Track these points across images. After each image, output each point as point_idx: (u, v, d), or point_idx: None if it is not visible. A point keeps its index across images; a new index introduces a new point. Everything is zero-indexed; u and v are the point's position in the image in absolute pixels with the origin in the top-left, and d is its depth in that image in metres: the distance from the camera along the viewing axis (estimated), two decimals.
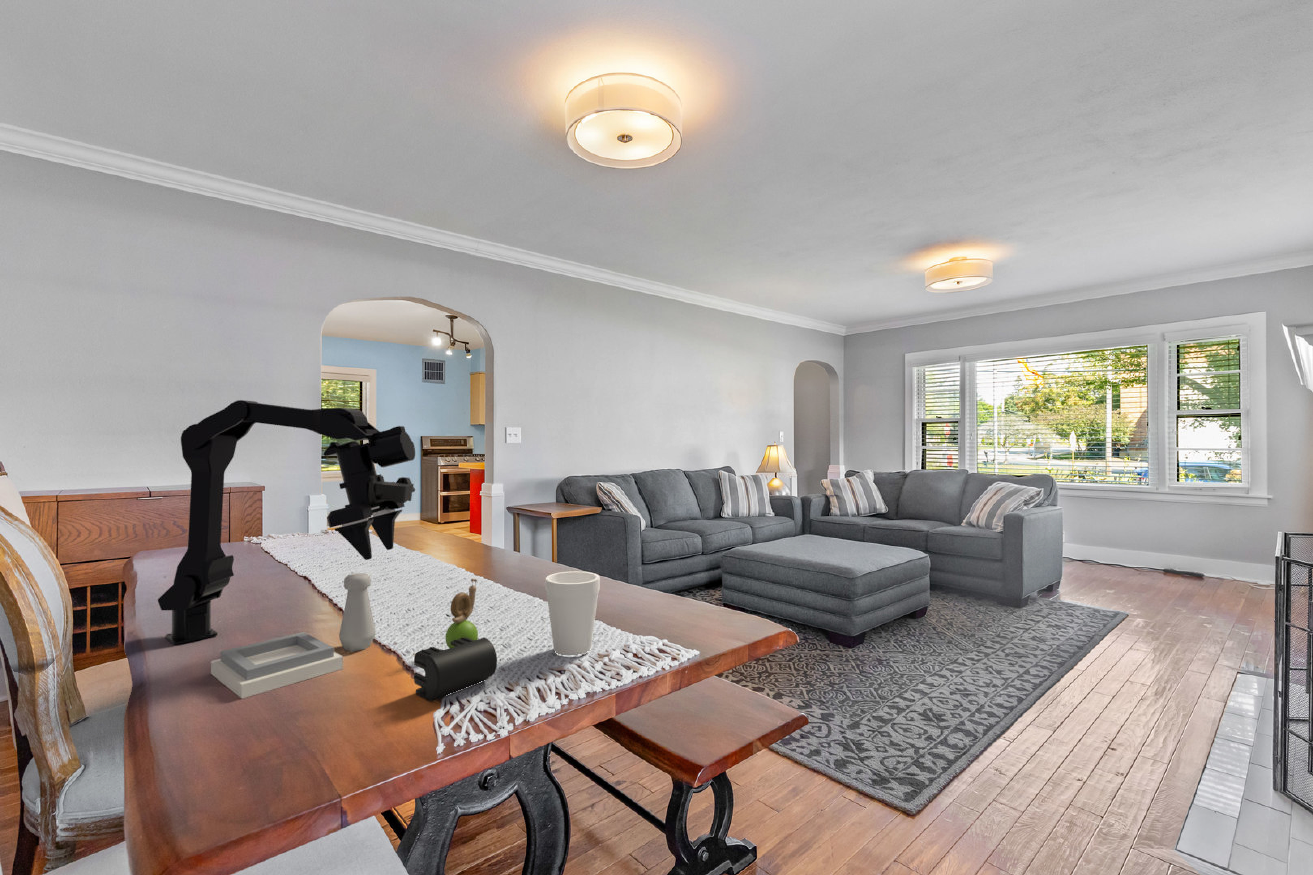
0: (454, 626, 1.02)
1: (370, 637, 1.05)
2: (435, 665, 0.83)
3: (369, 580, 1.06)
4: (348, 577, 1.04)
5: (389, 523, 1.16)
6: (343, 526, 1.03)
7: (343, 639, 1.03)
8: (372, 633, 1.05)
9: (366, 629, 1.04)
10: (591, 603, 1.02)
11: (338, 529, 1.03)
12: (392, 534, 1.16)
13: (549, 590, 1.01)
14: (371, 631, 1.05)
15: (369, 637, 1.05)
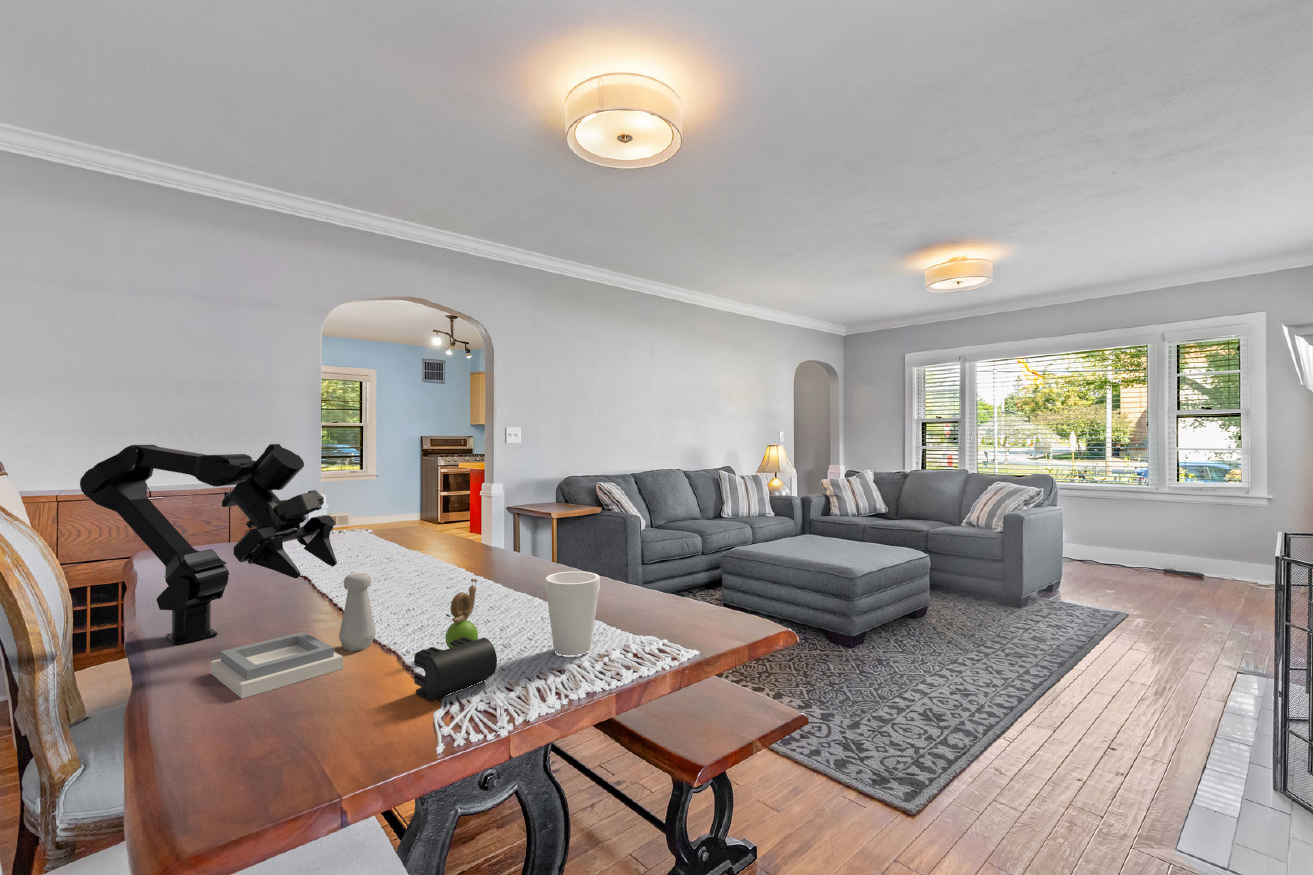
0: (454, 626, 1.02)
1: (370, 637, 1.05)
2: (435, 665, 0.83)
3: (369, 580, 1.06)
4: (348, 577, 1.04)
5: (323, 542, 1.12)
6: (253, 555, 0.99)
7: (343, 639, 1.03)
8: (372, 633, 1.05)
9: (366, 629, 1.04)
10: (591, 603, 1.02)
11: (250, 560, 0.99)
12: (330, 550, 1.12)
13: (549, 590, 1.01)
14: (371, 631, 1.05)
15: (369, 637, 1.05)
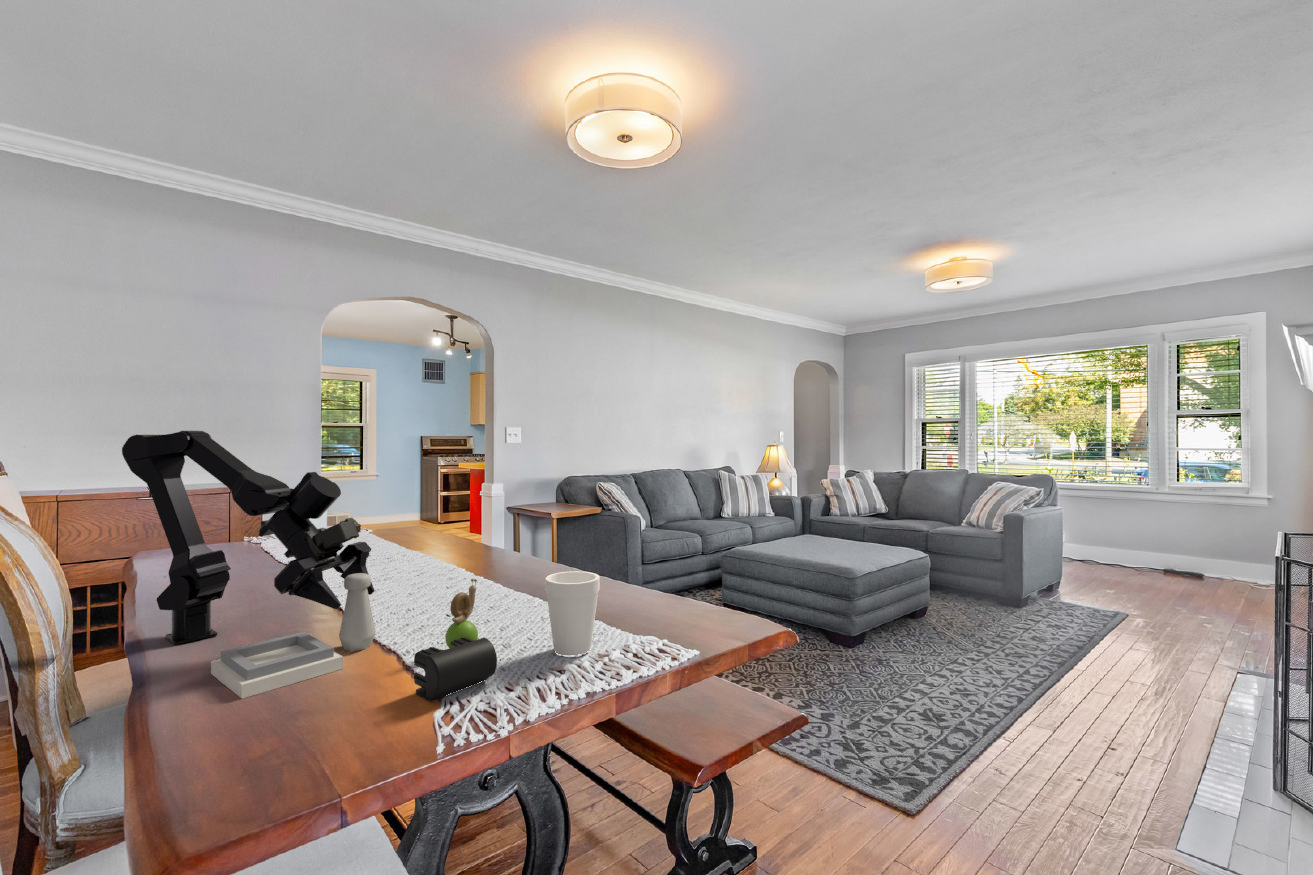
0: (454, 626, 1.02)
1: (370, 637, 1.05)
2: (435, 665, 0.83)
3: (369, 580, 1.06)
4: (348, 577, 1.04)
5: (359, 569, 1.11)
6: (293, 587, 0.98)
7: (343, 639, 1.03)
8: (372, 633, 1.05)
9: (366, 629, 1.04)
10: (591, 602, 1.02)
11: (291, 592, 0.98)
12: None
13: (549, 590, 1.01)
14: (371, 631, 1.05)
15: (369, 637, 1.05)
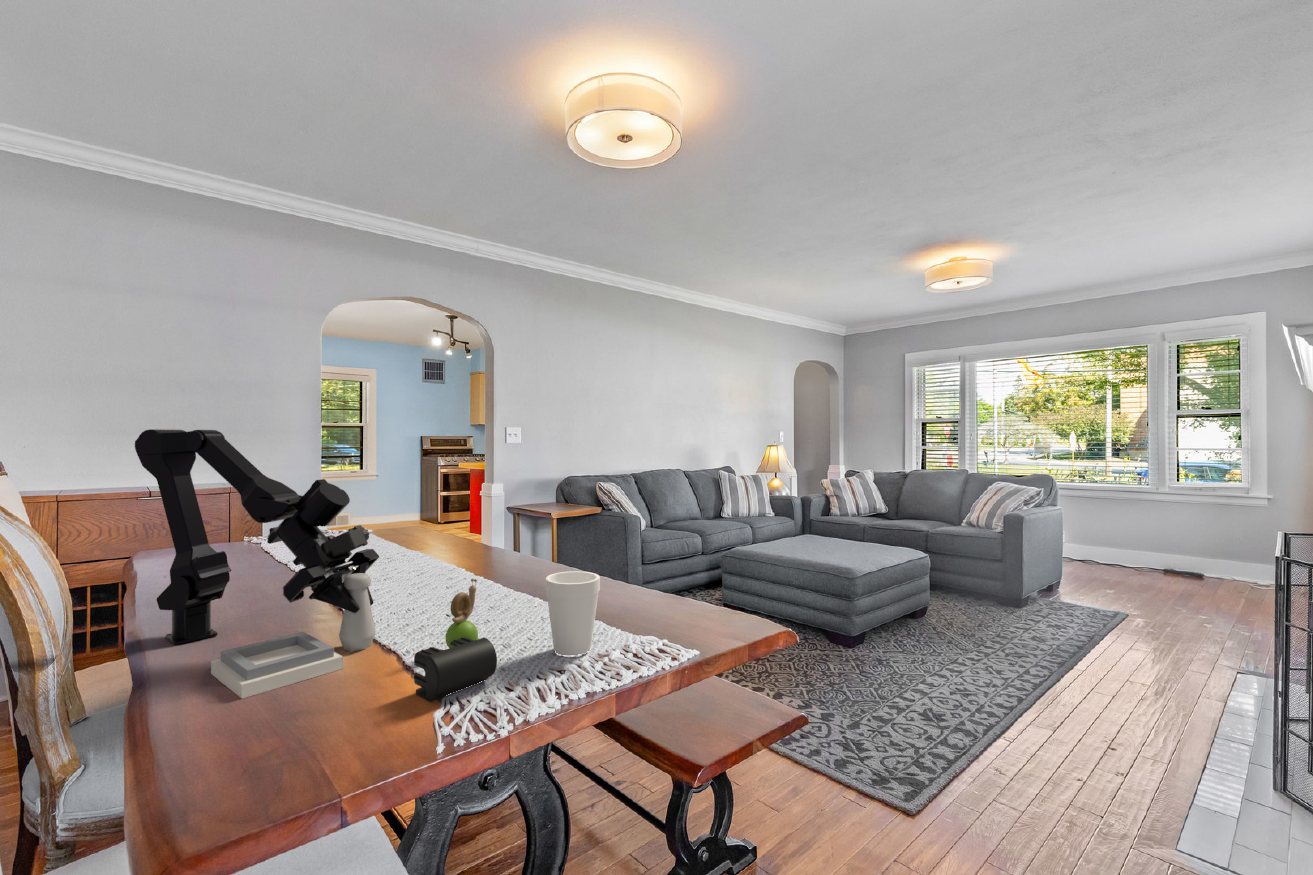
0: (454, 626, 1.02)
1: (370, 637, 1.05)
2: (435, 665, 0.83)
3: (369, 580, 1.06)
4: (348, 577, 1.04)
5: None
6: (314, 591, 1.01)
7: (343, 639, 1.03)
8: (372, 633, 1.05)
9: (366, 629, 1.04)
10: (591, 603, 1.02)
11: (311, 596, 1.01)
12: None
13: (549, 590, 1.01)
14: (371, 631, 1.05)
15: (369, 637, 1.05)
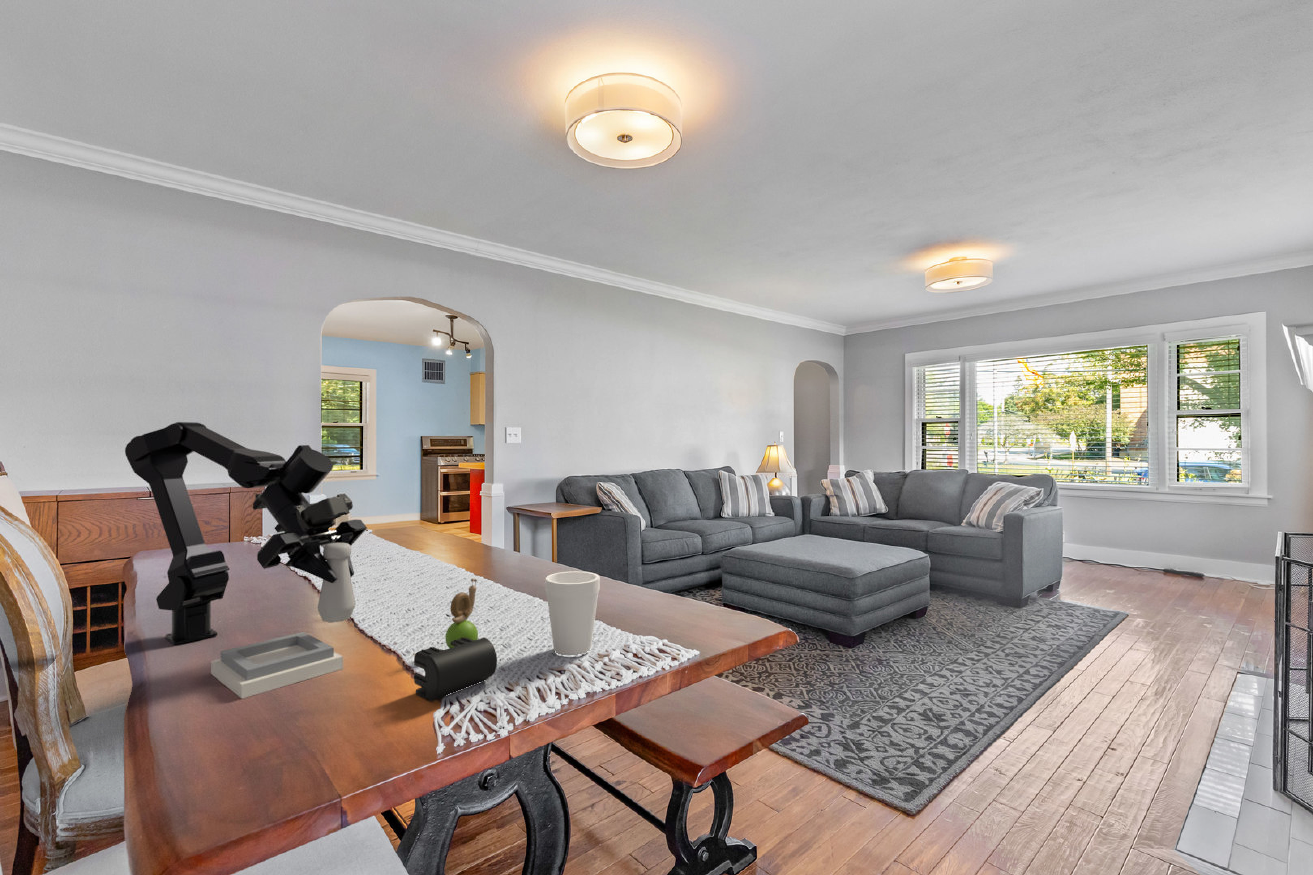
0: (454, 626, 1.02)
1: (348, 609, 1.01)
2: (435, 665, 0.83)
3: (349, 550, 1.02)
4: (327, 546, 1.01)
5: None
6: (290, 558, 0.98)
7: (320, 609, 1.00)
8: (351, 605, 1.01)
9: (344, 600, 1.00)
10: (591, 603, 1.02)
11: (287, 563, 0.98)
12: None
13: (549, 590, 1.01)
14: (349, 603, 1.01)
15: (347, 609, 1.01)
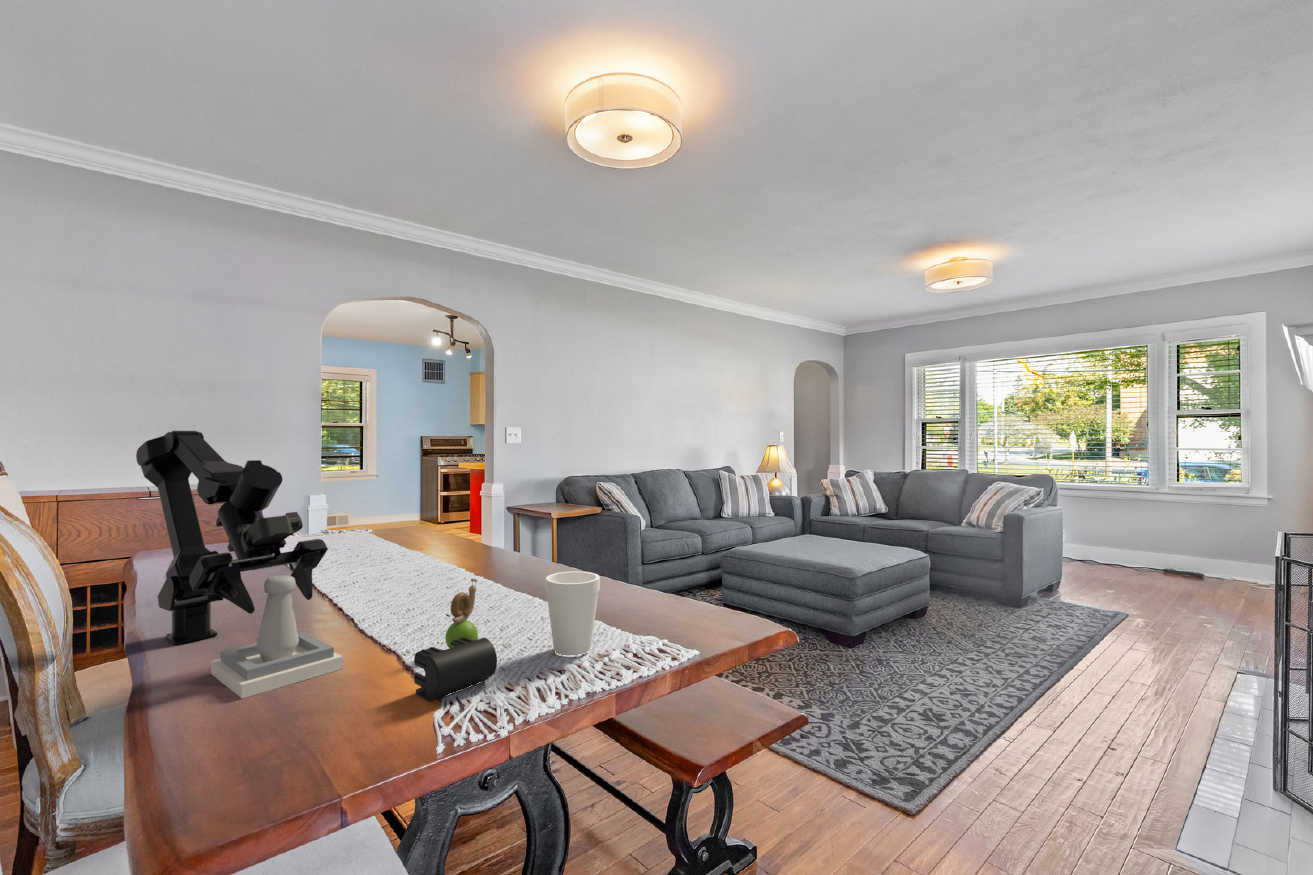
0: (454, 626, 1.02)
1: (284, 649, 0.93)
2: (435, 665, 0.83)
3: (290, 584, 0.94)
4: (268, 579, 0.94)
5: (303, 570, 0.99)
6: (209, 584, 0.90)
7: None
8: (288, 645, 0.93)
9: (279, 639, 0.93)
10: (591, 603, 1.02)
11: (206, 590, 0.90)
12: (308, 581, 0.99)
13: (549, 590, 1.01)
14: (286, 642, 0.93)
15: (283, 649, 0.93)
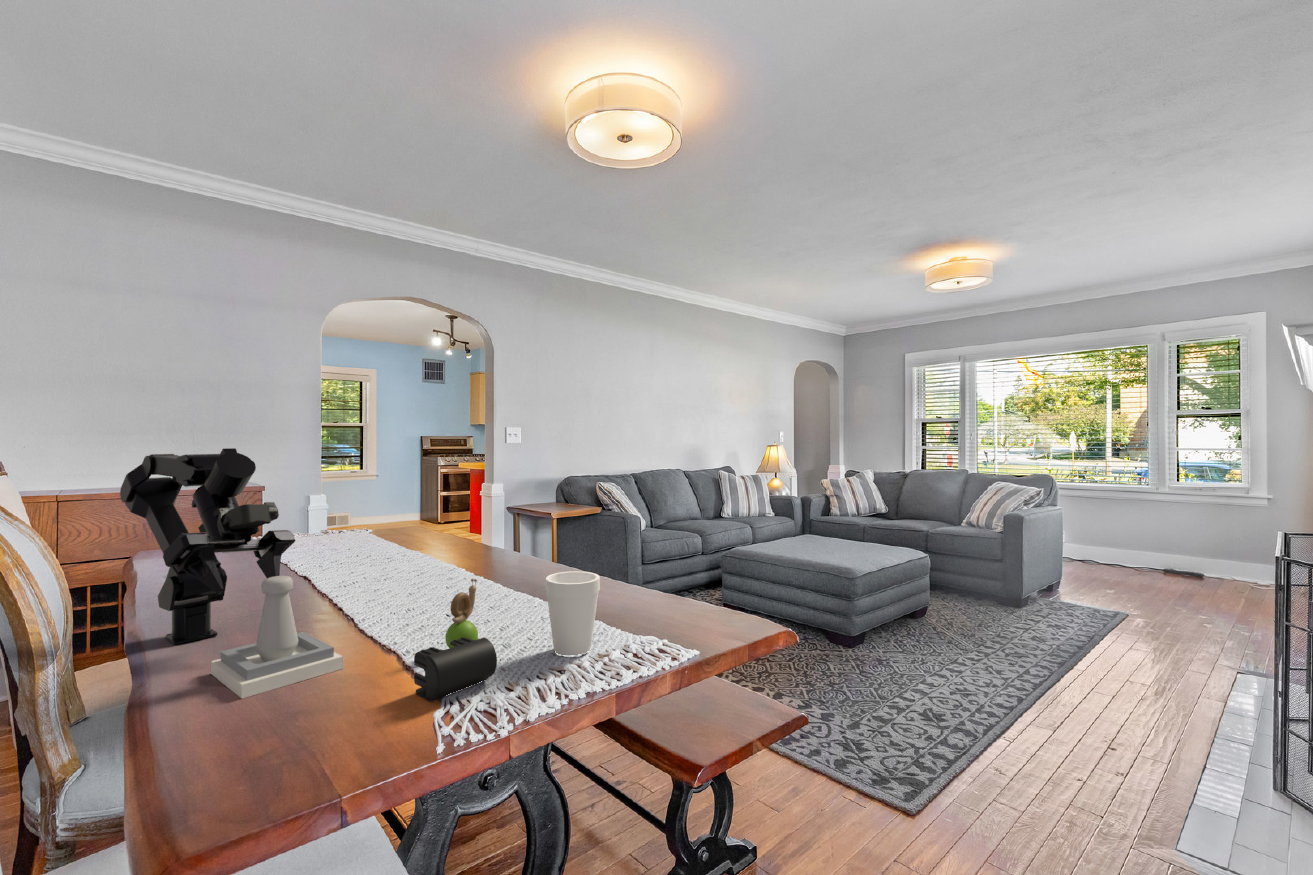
0: (454, 626, 1.02)
1: (284, 649, 0.93)
2: (435, 665, 0.83)
3: (287, 585, 0.94)
4: (265, 580, 0.94)
5: (272, 558, 1.05)
6: (181, 561, 0.94)
7: (256, 648, 0.93)
8: (287, 645, 0.93)
9: (278, 639, 0.93)
10: (591, 603, 1.02)
11: (177, 566, 0.94)
12: (276, 568, 1.04)
13: (549, 590, 1.01)
14: (285, 643, 0.93)
15: (282, 649, 0.93)
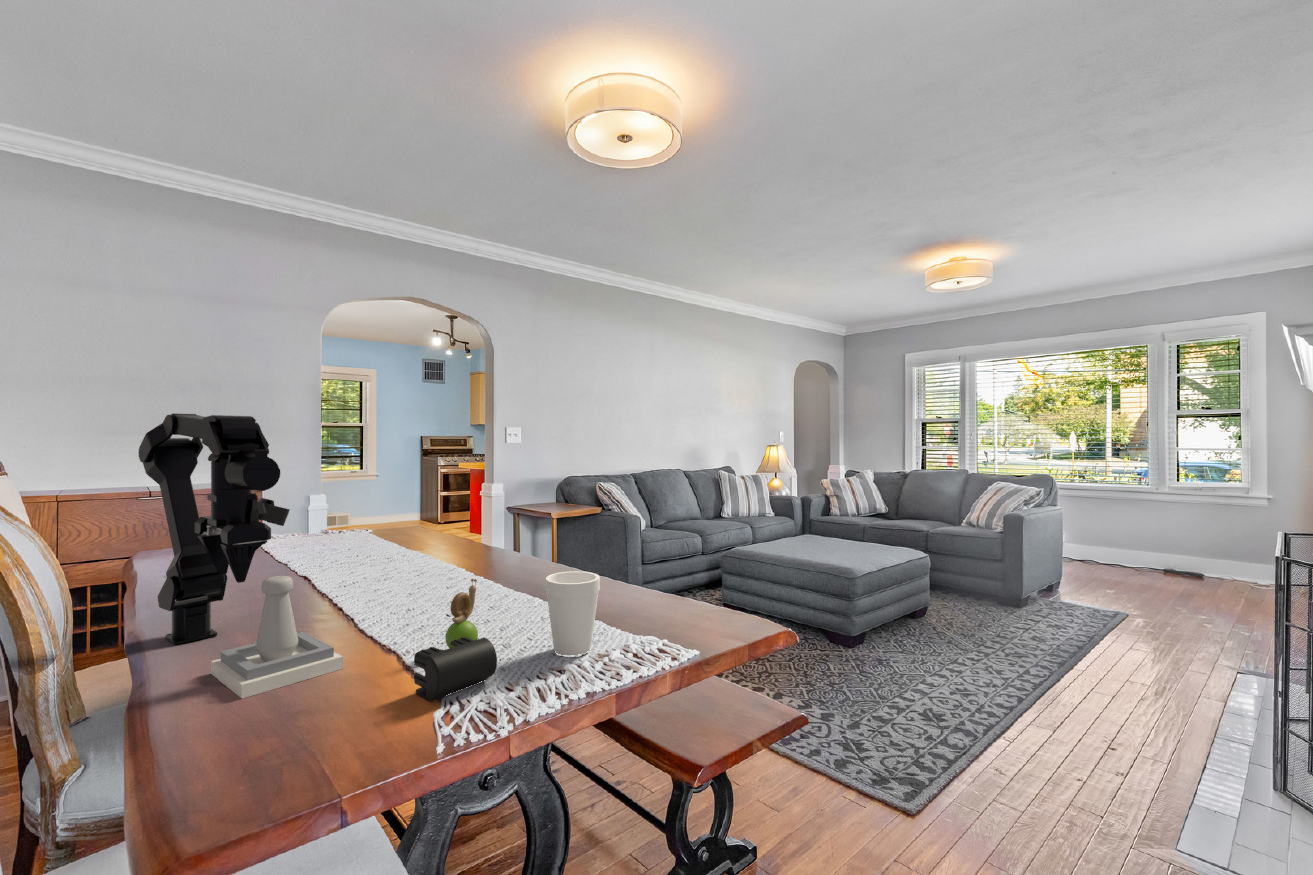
0: (454, 626, 1.02)
1: (284, 649, 0.93)
2: (435, 665, 0.83)
3: (287, 585, 0.94)
4: (265, 580, 0.94)
5: None
6: (239, 544, 0.96)
7: (256, 648, 0.93)
8: (287, 645, 0.93)
9: (278, 640, 0.93)
10: (591, 603, 1.02)
11: (233, 547, 0.96)
12: None
13: (549, 590, 1.01)
14: (285, 643, 0.93)
15: (282, 649, 0.93)
